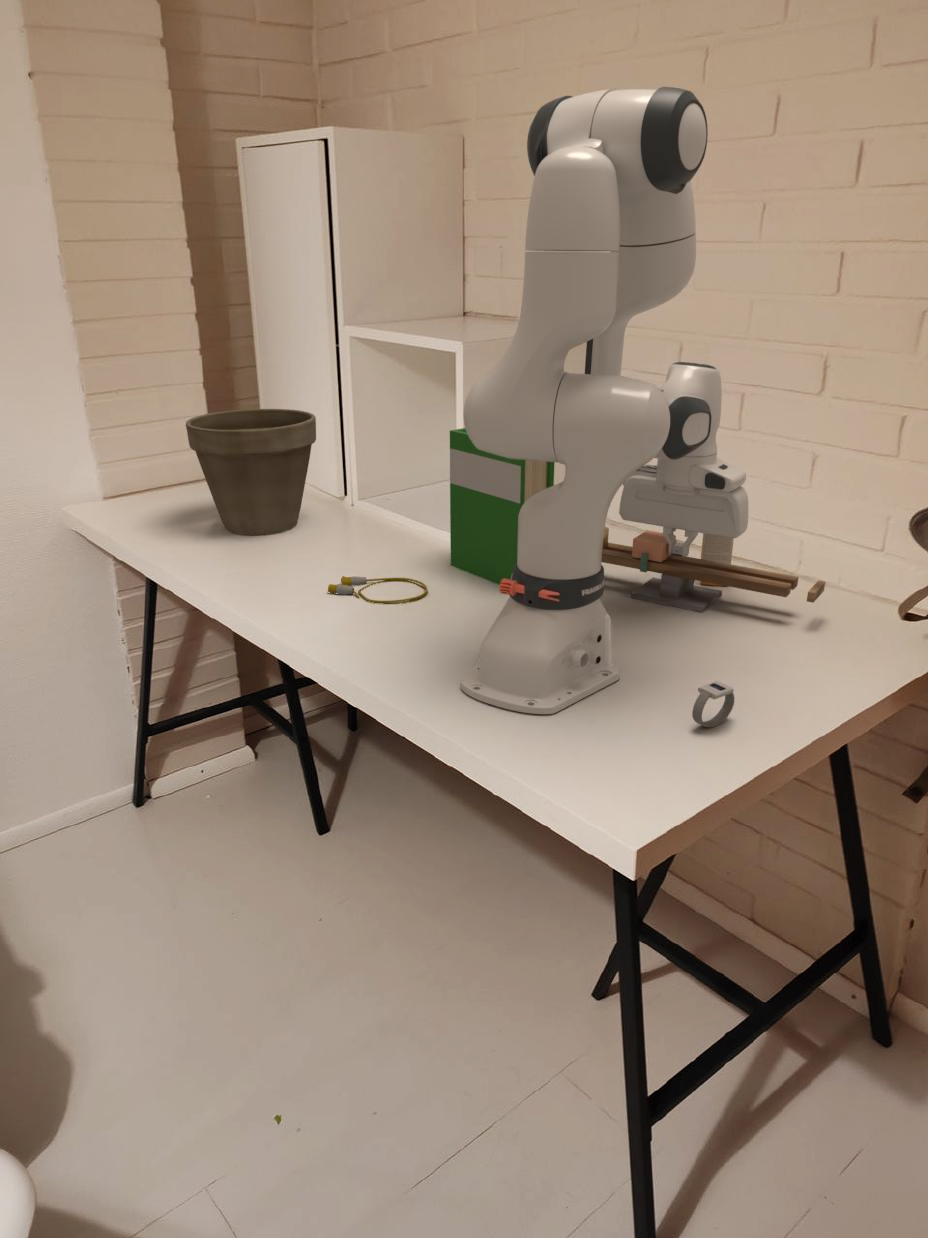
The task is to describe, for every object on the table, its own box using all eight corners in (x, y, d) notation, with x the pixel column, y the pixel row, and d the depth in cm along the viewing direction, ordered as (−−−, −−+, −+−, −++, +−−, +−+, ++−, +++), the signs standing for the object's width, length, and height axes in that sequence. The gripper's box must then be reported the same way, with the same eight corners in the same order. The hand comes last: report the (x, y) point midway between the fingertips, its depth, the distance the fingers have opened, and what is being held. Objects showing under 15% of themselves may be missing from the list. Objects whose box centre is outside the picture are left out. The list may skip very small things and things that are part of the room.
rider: (660, 571, 153) (662, 544, 151) (631, 566, 156) (633, 538, 154) (673, 562, 157) (675, 535, 156) (645, 557, 160) (647, 530, 158)
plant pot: (187, 516, 200) (175, 411, 192) (302, 503, 210) (295, 403, 202) (211, 550, 179) (198, 434, 171) (337, 533, 189) (331, 423, 181)
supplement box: (729, 587, 160) (738, 511, 155) (700, 585, 161) (707, 509, 156) (727, 571, 168) (735, 498, 163) (698, 569, 169) (705, 496, 164)
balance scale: (806, 634, 141) (814, 576, 138) (544, 579, 164) (545, 528, 160) (822, 615, 148) (830, 559, 145) (568, 565, 171) (570, 516, 167)
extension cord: (367, 574, 168) (367, 563, 167) (441, 591, 160) (441, 580, 159) (321, 594, 158) (320, 583, 158) (397, 614, 150) (396, 602, 150)
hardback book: (550, 582, 163) (555, 440, 154) (518, 592, 158) (521, 447, 149) (482, 557, 175) (482, 425, 166) (450, 565, 171) (449, 430, 162)
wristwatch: (703, 736, 113) (707, 698, 111) (685, 727, 115) (689, 690, 113) (737, 722, 116) (742, 684, 114) (719, 713, 118) (723, 676, 117)
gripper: (615, 465, 151) (610, 548, 156) (743, 482, 141) (733, 571, 146) (632, 457, 156) (626, 539, 161) (756, 473, 146) (746, 560, 151)
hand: (678, 554), depth 153 cm, fingers closed
